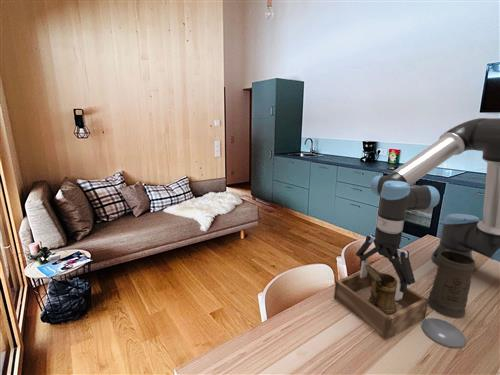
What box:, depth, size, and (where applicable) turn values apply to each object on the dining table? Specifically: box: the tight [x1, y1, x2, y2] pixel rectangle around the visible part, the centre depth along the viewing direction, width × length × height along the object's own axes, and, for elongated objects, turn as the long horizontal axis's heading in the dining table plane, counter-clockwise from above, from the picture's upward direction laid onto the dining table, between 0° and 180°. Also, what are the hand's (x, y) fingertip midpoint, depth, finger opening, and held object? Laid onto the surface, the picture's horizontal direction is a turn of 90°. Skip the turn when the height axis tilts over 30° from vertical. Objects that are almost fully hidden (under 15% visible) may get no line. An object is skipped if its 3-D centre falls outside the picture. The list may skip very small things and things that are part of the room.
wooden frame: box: [333, 267, 429, 341], centre depth 93 cm, size 19×21×7 cm
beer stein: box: [427, 250, 476, 319], centre depth 94 cm, size 15×11×20 cm
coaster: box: [421, 317, 466, 349], centre depth 83 cm, size 11×11×1 cm
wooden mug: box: [365, 264, 398, 316], centre depth 92 cm, size 9×14×18 cm, turn 111°
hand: (379, 287), depth 92 cm, fingers open, 13 cm apart
